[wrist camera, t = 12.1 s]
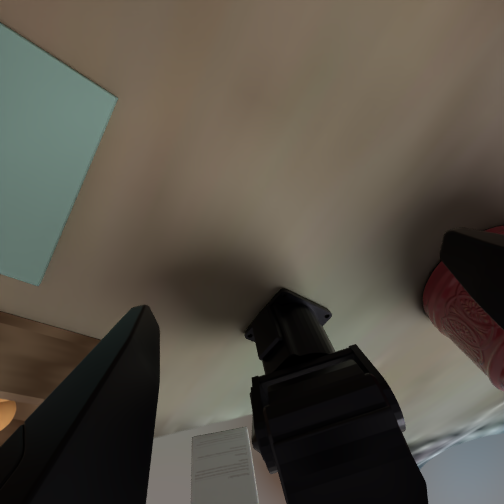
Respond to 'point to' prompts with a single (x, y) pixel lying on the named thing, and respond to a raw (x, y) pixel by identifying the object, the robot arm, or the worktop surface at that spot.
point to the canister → (466, 321)
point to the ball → (6, 413)
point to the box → (35, 363)
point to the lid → (42, 150)
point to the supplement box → (223, 469)
